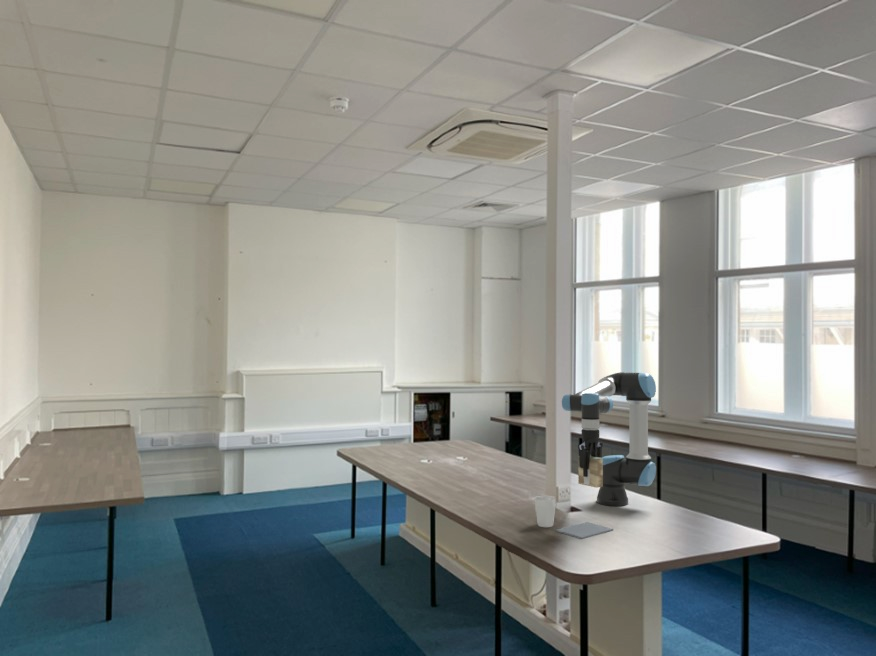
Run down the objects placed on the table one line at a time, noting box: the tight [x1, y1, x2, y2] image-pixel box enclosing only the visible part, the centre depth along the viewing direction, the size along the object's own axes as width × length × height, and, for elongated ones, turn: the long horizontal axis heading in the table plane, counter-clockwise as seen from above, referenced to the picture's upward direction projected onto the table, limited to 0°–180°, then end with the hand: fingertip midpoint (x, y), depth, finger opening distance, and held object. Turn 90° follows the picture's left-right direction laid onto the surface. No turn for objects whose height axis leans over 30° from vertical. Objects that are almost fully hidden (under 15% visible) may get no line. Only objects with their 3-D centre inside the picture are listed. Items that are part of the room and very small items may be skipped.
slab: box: [577, 455, 603, 489], centre depth 283 cm, size 4×10×12 cm, turn 36°
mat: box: [555, 521, 614, 540], centre depth 279 cm, size 20×14×1 cm
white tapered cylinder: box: [534, 494, 557, 528], centre depth 288 cm, size 9×9×12 cm
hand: (590, 483), depth 283 cm, fingers closed on slab, 4 cm apart
